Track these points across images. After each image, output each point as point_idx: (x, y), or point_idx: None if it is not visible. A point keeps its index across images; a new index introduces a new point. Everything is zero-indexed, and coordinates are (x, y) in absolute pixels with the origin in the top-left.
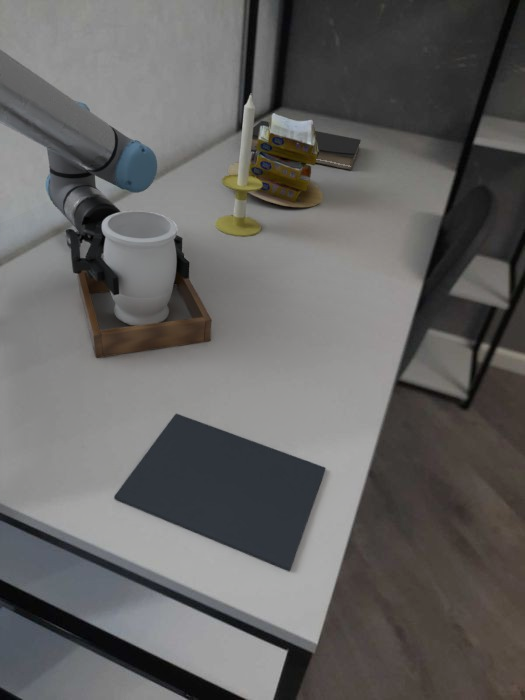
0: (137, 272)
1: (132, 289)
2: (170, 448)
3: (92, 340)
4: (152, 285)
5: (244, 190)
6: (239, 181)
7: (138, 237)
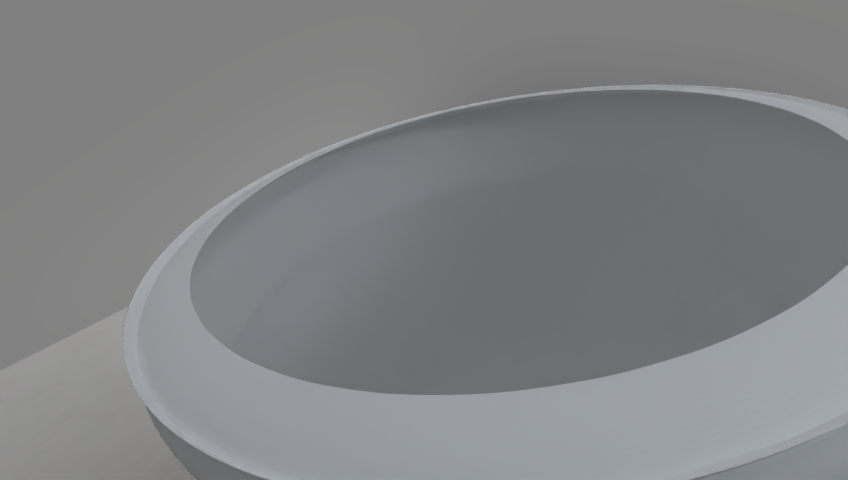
0: (569, 267)
1: (607, 361)
2: None
3: None
4: (503, 338)
5: None
6: None
7: None
